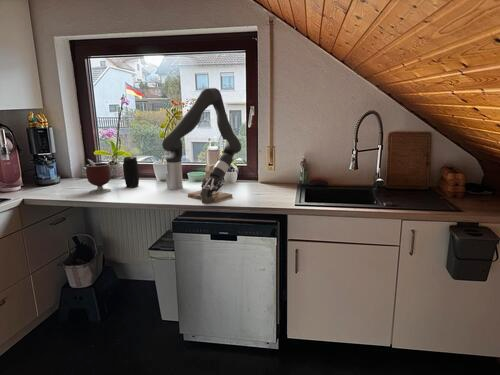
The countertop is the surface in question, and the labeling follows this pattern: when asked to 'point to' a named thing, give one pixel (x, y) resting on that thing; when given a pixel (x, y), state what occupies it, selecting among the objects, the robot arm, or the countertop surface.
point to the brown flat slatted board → (215, 198)
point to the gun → (208, 171)
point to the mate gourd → (98, 176)
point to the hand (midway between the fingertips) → (204, 195)
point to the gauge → (204, 197)
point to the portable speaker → (131, 171)
